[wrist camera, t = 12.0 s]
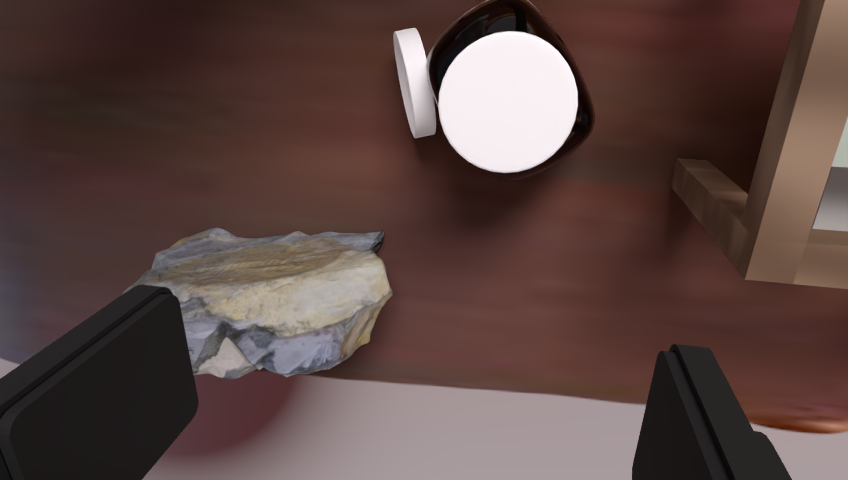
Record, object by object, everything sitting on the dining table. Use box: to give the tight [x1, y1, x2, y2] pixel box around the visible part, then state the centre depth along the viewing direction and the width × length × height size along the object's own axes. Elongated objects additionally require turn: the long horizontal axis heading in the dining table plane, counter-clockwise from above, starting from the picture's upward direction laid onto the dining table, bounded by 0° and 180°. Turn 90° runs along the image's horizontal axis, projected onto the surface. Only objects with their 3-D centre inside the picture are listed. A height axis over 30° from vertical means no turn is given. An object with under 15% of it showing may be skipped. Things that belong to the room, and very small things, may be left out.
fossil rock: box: [122, 227, 393, 379], centre depth 41 cm, size 20×10×15 cm, turn 96°
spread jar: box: [393, 0, 595, 181], centre depth 32 cm, size 12×11×12 cm
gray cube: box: [811, 167, 848, 231], centre depth 33 cm, size 5×5×6 cm
